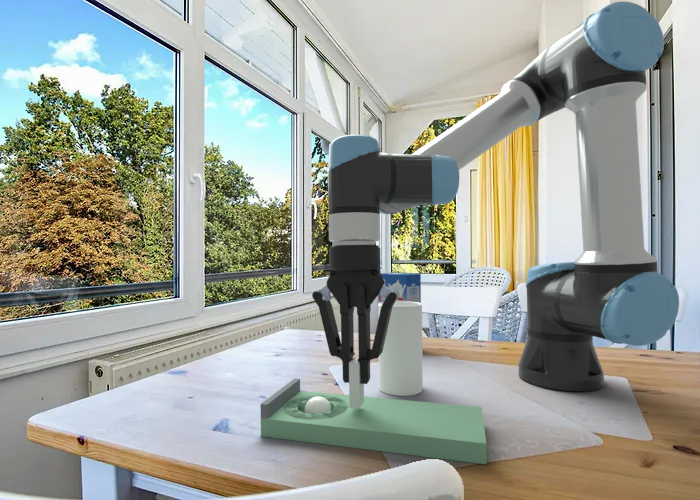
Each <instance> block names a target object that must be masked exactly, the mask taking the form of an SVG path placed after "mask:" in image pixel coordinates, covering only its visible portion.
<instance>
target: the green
mask: <svg viewBox="0 0 700 500" xmlns="http://www.w3.org/2000/svg"><path fill="white" fill-rule="evenodd" d="M315 396H321V397H324V398H326V399H327V400H328V401H329V403H330V405H331V411H329V412H326V413H321V414H307V413H305V406H306V403H307V402H308V401H309V400H310V399H311V398H313V397H315ZM484 421H485V420H484V414H483V408H482V406H476V405H475V406H473V405H465V404H464V405H463V404H452V403H451V404H450V403H439V402H429V401H419V400H417V401H416V400H406V399H396V398H395V399H394V398H383V397H376V396H375V397H373V396H372V397H371V396H364V403H363V404H362V406H361V407H360V409H357V408H350V402H349V394H341V393H329V392H328V393H327V392H318V391H306V390H305V391H303V390H301V379H300V378H293V379H292V380H290V381H289V382H288V383H286V384H285V385H284V386H283V387H281V388H280V389H278V390H277V391H276V392H274V393H273V394H272V395H271V396H269V397H268V398H267V399H265V400H264V401H262V402H261V403H260V437H264V438H270V439H271V438H272V439H281V440H286V441H294V442H295V441H296V442H304V443H311V444H312V443H313V444H321V445H328V446H336V447H342V448H343V447H344V448H352V449H358V450H359V449H361V450H367V451H375V452H384V453H393V454H401V455H407V456H416V457H425V458H432V459H441V460H449V461H455V462H456V461H457V462H466V463H473V464H480V465H487V463H488V461H487V438H486V430H485V422H484Z"/></svg>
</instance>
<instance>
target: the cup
mask: <svg viewBox="0 0 700 500" xmlns="http://www.w3.org/2000/svg"><path fill="white" fill-rule="evenodd" d="M382 305H383V302H380V303H379V304H378V303H377V321H378V320H379V315H380V311H381V307H382ZM423 372H424V371H423V303H419V302H411V301H396V302H395V304H394V305H393V307H392V311H391V316H390V320H389V325H388V329H387V333H386V338H385V342H384V347H383V351H382V353H381V355H380V356H379V357H378V389H379V391H380V392H383V393H384V394H387V395H392V396H399V397H400V396H401V397H402V396H403V397H404V396H414V395H417V394H420V393H422V392H423V388H424V387H423V386H424V385H423V384H424V382H423V380H424V378H423V377H424V376H423V375H424V374H423Z"/></svg>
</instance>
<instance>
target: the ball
mask: <svg viewBox="0 0 700 500" xmlns="http://www.w3.org/2000/svg"><path fill="white" fill-rule="evenodd" d="M329 411H331V405H330V403H329V401H328V400H327V399H326V398H324V397H321V396H315V397H313V398H311V399H310V400H309V401H308V402H307V403H306V406H305V413H307V414H321V413H326V412H329Z"/></svg>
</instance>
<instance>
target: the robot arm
mask: <svg viewBox="0 0 700 500" xmlns="http://www.w3.org/2000/svg"><path fill="white" fill-rule="evenodd" d="M664 39H665V38H664V34H663V30H662V28H661V25H660V23H659V22H658V20H657V19H656V18H655V16H654V15H653V14H652V13H650V12H649V11H648V10H647V8H645V7H644V6H641V5H640V4H637V3H634V2H631V1H623V0H621V1H616V2H613V3H610V4H607V5H606V6H604V7H603V8H601V9H600V10H598V11H597V12H595V13H594V12H593V13H592V14H590V15H589V16H588V17H586V19H585V20H584V21H583V22H582V23H580V24H579V25H578V26H576V27H575V28H573V29H571V31H569V32H567V34H565V35H564V36H562V37H561V38H560V39H558V40H557V41H556V42H555V43H553V44H551V45H550V46H548V47H547V48H546V49H545V50H544V51H542V52H541V53H540V54H539V55H538V56H537V57H536V58H535V59H533V61H532V62H531V63H529V64H528V65H527V66H526V67H525V68H524V69H523V70H522V71H521V72H520V71H519V73H518V74H517V75H516V76H514V77H512V79H510V80H509V81H508V82H506V83H505V84H504V85H503V86H502V88H501V90H500V93H499V94H498V95H496V96H495V97H492V99H490V100H489V101H487V102H486V103H485V104H483V105H482V106H479V107H478V108H477V109H476V110H474V111H473V112H471V113H470V114H469V115H467V116H465V117H464V118H462V119H461V120H459V121H458V122H457V123H455V124H453V125H452V126H451V127H449V128H448V129H447V130H445V131H443V132H442V133H440V134H439V135H437V136H436V137H435V138H433V139H432V140H431V141H429V142H428V143H426V144H424V145H423V146H422V147H420V148H419V149H417V150H416V151H414V152H413V153H409V154H408V153H387V152H381V148H380V147H379V141H378V140H377V138H375V137H373V136H369V135H368V136H367V135H365V134H347V135H342V136H339V137H336V138H334V139H333V140H332V141H331V142H330V143H329V145H328V157H327V159H328V163H327V164H328V165H327V171H326V173H327V189H328V191H327V193H328V194H327V196H328V241H329V242H330V243H332V245H331V246H330V247H329V248H328V263H329V264H328V265H329V267H328V268H329V275H328V278H327V280H326V285H325V286H324V287H322V288H320V289H319V290H316V291H313V292H312V295H311V297H312V299H313V301H314V302H315V304H316V305H317V306H318V310H319V314H320V318H321V322H322V326H323V331H324V334H325V335H324V336H325V338H326V343H327V347H328V352H329V354H330V356H332V357H336V358H338V359H340V360H341V362H342V381H343V383H344V384H345V383H348V387H349V388H348V392H349V394H348V395H349V402H350V408H357V409H360V407H361V406H362V404H363V403H364V397H365V385H367V384H368V383H369V382H370V379H371V360H375V359H379V356H380V355H381V353H382V351H383V347H384V342H385V338H386V333H387V329H388V325H389V320H390V316H391V311H392V307H393V305H394V304H395V302H396V301H397V299H398V297H399V293H398V292H397V291H392V290H391V289H389V288H388V287H387V286H385V285H384V280H383V278H382V276H381V273H382V272H381V247H379V245H377V242H379V241H380V240H381V225H380V224H381V223H380V217H381V216H380V214H383V215H396V214H398V213H400V212H402V211H406V210H410V209H412V208H415V207H419V206H423V205H424V206H428V205H430V206H431V207H433V206H436V205H448V204H450V203H452V202H453V201H454V200H455V198H456V197H457V194H458V192H459V187H460V170H462V169H463V168H464V167H466V166H467V165H469V164H470V163H471V162H473V161H474V160H475V159H477V158H479V157H480V156H482V155H483V154H484V153H485V152H487V151H488V150H490V149H492V148H493V147H494V146H495V145H497V144H498V143H500V142H501V141H503V140H505V139H506V138H507V137H509V136H510V135H511V134H513V133H515V132H516V131H517V130H518V129H519V128H521V127H527V128H528V127H531V126H533V125H534V124H536V123H537V122H538V121H540V120H542V119H543V118H545V117H547V116H549V115H552V114H553V113H557V112H558V111H560V110H563V109H565V108H566V109H567V110H568V111H570V112H571V113H573V114H574V115H575V129H576V130H575V131H576V132H575V133H576V146H577V147H576V149H577V163H578V164H577V165H578V167H577V168H578V180H579V181H578V182H579V185H578V186H579V196H580V201H579V202H580V215H581V231H582V232H581V233H582V249H583V251H582V253H581V254H580V255H579V256H578V257H577V258H576V259H575V260H574V261H573V262H571V261H570V262H569V261H568V262H567V261H566V262H557V263H545V264H544V263H543V264H538V265H533V266H530V268H529V269H528V271H527V272H526V273H527V275H526V283H525V288H526V313H527V314H526V322H527V323H526V324H527V325H526V327H527V329H526V330H527V336H526V337H527V338H526V340H525V341H526V342H525V344H524V348H523V350H522V354H521V357H520V359H519V362H518V377H519V378H520V379H522V380H523V381H525V382H527V383H529V384H532V385H535V386H538V387H542V388H546V389H550V390H551V389H552V390H558V391H566V392H567V391H568V392H591V391H597V390H599V389H600V390H601V389H603V388H604V387H605V386H604V385H605V376H604V375H605V374H604V370H603V368H602V365H601V362H600V359H599V357H598V354H597V351H596V349H595V346H594V341H593V338H594V337H595V338H599V339H603V340H607V341H609V342H611V343H613V344H614V343H615V344H620V345H623V344H625V345H630V346H635V347H642V346H647V345H652V344H654V343H656V342H657V341H659V340H662V338H663V337H665V336H666V334H667V333H668V331H669V330H671V329H672V328H673V327H674V325H675V322H676V319H677V317H678V315H679V308H680V297H679V292H678V289H677V287H676V286H675V285H674V284H672V283H673V282H672V281H671V279H670V278H668V277H667V276H665V275H663V274H661V273H660V272H659V271H658V260H657V258H656V257H654V256H653V255H652V254H650V253H649V252H648V251H647V250H646V249H645V238H644V235H645V234H644V221H643V220H644V219H643V218H644V217H643V205H642V201H643V200H642V188H641V187H642V186H641V171H640V170H641V169H640V167H641V166H640V156H639V155H640V154H639V136H638V119H637V101H638V99H639V98H640V97H641V96H643V94H644V93H645V92H646V91H647V86H648V85H647V84H648V83H647V70H650V69H651V68H653V66H654V65H655V64H657V62H658V61H659V58H660V57H661V56H662V54H663V52H664V47H665V41H664ZM380 292H381V301H382V302H383V305H382V307H381V311H380V315H379V320H378V319H377V325H376V329H375V335H374V339H373V342H372V347H371V312H372V311H371V310H372V309H371V308H372V307H371V306H372V304H373V303H374V301H375V300H376V299H377V298H378V294H379V293H380ZM332 296H333V297H334V299H335V301H336V302H337V303H338V305H339V313H340V333H339V330H338V325H337V324H338V323H337V321H336V316H335V312H334V308H333V305H332V302H331V300H332ZM355 308H356V314H357V322H358V323H357V326H358V327H357V328H358V329H357V331H358V332H357V333H358V334H357V335H358V336H357V337H358V357H354V356H355V354H356V352H355V351H354V350H355V349H354V347H355V345H354V344H355V341H354V340H355V339H354V338H355V337H354V333H355V332H354V331H355V330H354V311H355Z"/></svg>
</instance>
